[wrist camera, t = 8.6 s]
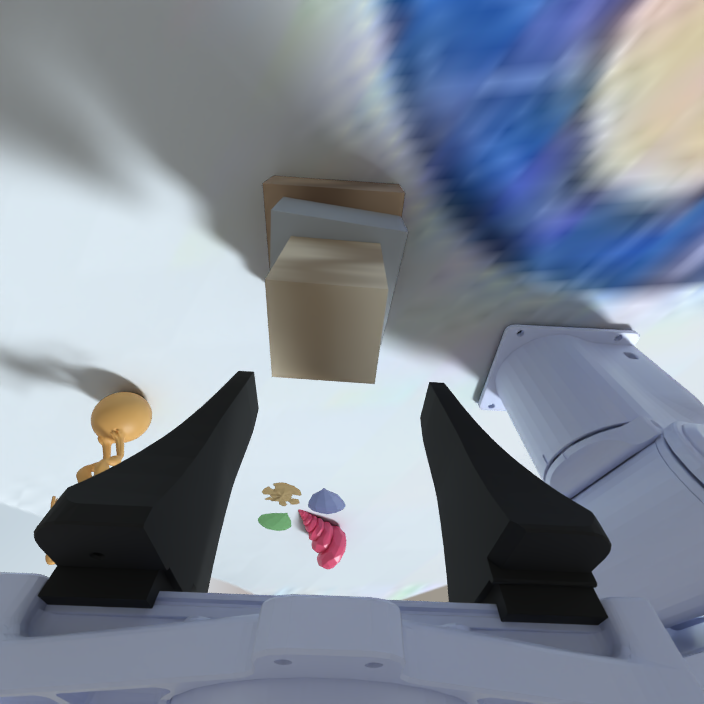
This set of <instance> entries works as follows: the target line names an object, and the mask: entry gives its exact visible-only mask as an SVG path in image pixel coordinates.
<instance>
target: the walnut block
mask: <svg viewBox="0 0 704 704" xmlns="http://www.w3.org/2000/svg"><path fill="white" fill-rule="evenodd" d="M263 194H264V206H265V218H266V230H267V243H268V255H269V267H270V240H271V209H272V208H273V207H274V206H275V205H276V204H277V203H278V202H279V201H280V200H281V199H282V198H283V197H288V198H294V199H301V200H307V201H313V202H319V203H325V204H331V205H337V206H343V207H349V208H355V209H361V210H367V211H373V212H379V213H385V214H391V215H397V216H401V218H402V211H403V203H404V196H405V192H404V191H403V189H402V188H401V186H400V185H399V184H388V183H374V182H359V181H344V180H330V179H315V178H300V177H286V176H272V177H271V178H269V179H268V180H267V181H265V182H264V183H263Z"/></svg>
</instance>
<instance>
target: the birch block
mask: <svg viewBox="0 0 704 704" xmlns="http://www.w3.org/2000/svg"><path fill="white" fill-rule="evenodd" d="M265 287H266V301H267V315H268V328H269V342H270V356H271V369H272V377H283V378H297V379H312V380H326V381H340V382H354V383H368V384H375V377H376V370H377V363H378V357H379V350H380V343H381V336H382V329H383V323H384V316H385V309H386V302H387V295H388V284H387V278H386V272H385V267H384V261H383V255H382V249H381V243H369V242H357V241H345V240H333V239H321V238H308V237H296V236H291V237H290V238H289V240H288V242H287V243H286V245H285V247H284V248H283V250H282V252H281V253H280V255H279V257H278V259H277V260H276V262H275V264H274V265H273V267H272V269H271V270H270V272H269V274H268V275H267V277H266V279H265Z"/></svg>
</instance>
